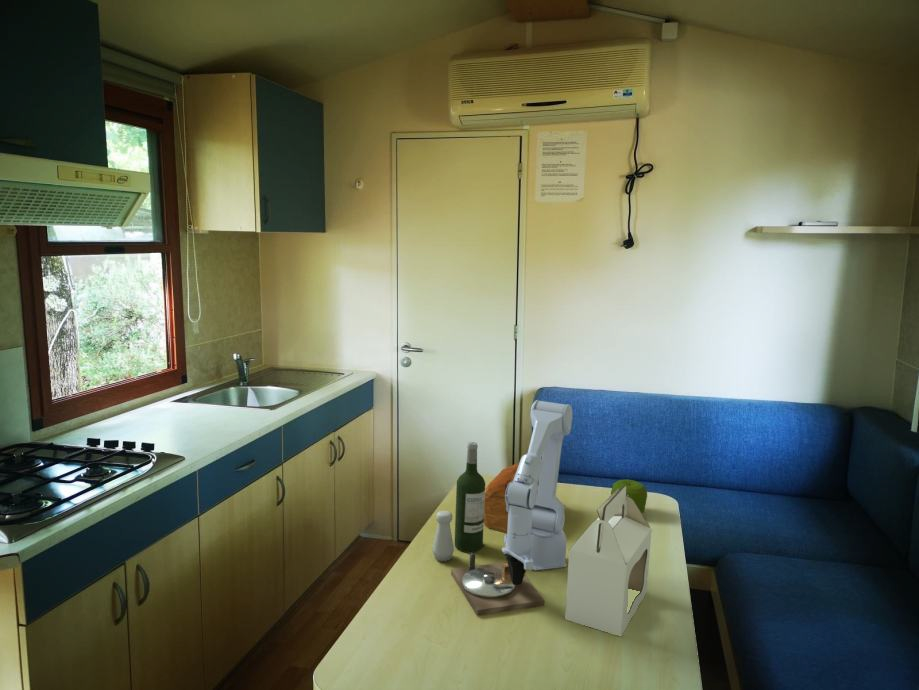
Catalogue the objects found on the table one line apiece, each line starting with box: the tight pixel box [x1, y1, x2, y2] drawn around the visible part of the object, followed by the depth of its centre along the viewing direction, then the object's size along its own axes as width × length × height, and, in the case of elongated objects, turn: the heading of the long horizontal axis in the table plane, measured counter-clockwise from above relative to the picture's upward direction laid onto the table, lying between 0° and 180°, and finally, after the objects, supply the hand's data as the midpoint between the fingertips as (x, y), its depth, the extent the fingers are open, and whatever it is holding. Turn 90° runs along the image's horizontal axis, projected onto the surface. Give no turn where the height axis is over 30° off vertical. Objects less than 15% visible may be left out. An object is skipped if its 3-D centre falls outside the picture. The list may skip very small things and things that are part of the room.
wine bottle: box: [454, 441, 486, 553], centre depth 193 cm, size 8×8×30 cm
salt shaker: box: [432, 510, 455, 562], centre depth 187 cm, size 6×6×13 cm
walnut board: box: [450, 552, 546, 617], centre depth 172 cm, size 17×20×6 cm
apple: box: [610, 479, 648, 517], centre depth 222 cm, size 11×11×11 cm
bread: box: [484, 462, 547, 534], centre depth 216 cm, size 16×27×16 cm, turn 152°
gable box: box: [564, 486, 653, 635], centre depth 164 cm, size 22×13×28 cm, turn 151°
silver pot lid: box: [462, 562, 515, 598], centre depth 172 cm, size 15×13×5 cm
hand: (516, 583), depth 169 cm, fingers closed
